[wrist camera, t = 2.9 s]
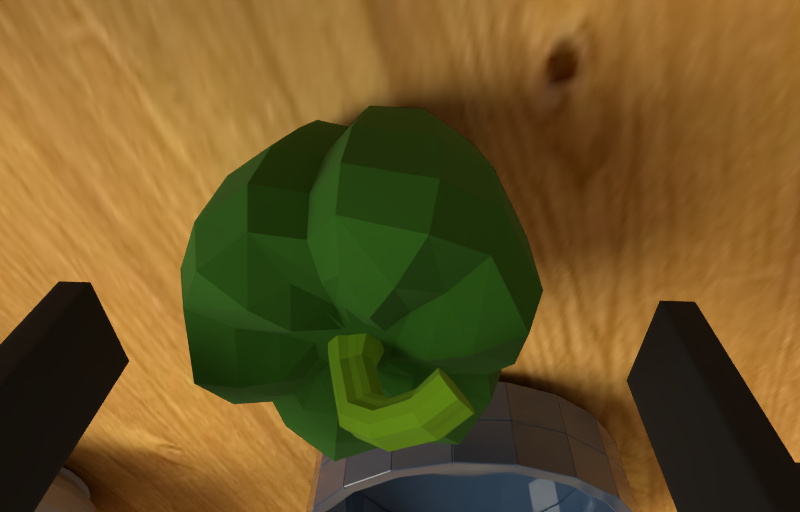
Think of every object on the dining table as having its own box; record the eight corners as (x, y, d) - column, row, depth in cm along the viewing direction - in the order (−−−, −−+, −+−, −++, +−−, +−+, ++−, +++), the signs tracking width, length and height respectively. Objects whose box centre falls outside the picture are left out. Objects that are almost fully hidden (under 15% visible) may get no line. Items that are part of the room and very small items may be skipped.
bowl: (333, 522, 32) (321, 604, 29) (304, 363, 23) (281, 455, 19) (578, 533, 32) (596, 617, 28) (653, 375, 22) (696, 472, 19)
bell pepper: (310, 297, 20) (234, 573, 12) (213, 103, 15) (-17, 351, 7) (522, 260, 18) (591, 551, 11) (486, 30, 14) (565, 248, 6)
